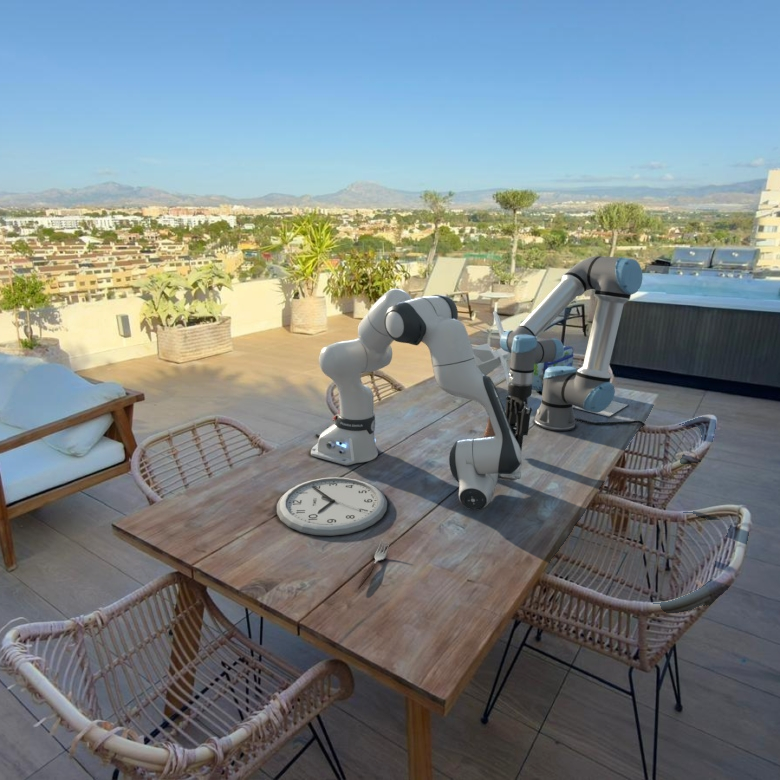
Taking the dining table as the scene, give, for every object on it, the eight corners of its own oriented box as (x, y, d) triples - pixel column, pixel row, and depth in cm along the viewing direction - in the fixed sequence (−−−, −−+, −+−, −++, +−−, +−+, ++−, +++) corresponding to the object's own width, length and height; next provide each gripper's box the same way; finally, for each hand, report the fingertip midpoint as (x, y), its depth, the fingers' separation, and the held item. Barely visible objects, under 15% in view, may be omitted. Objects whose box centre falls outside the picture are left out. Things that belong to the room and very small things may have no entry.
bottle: (477, 473, 163) (482, 416, 157) (489, 470, 165) (493, 414, 159) (486, 479, 159) (491, 421, 153) (498, 476, 161) (503, 419, 155)
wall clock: (392, 527, 129) (268, 531, 127) (391, 533, 130) (269, 537, 127) (383, 473, 158) (282, 475, 155) (383, 478, 158) (282, 480, 156)
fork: (352, 589, 110) (352, 581, 109) (380, 547, 124) (380, 540, 123) (364, 592, 109) (364, 583, 108) (390, 550, 123) (390, 542, 123)
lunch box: (545, 397, 238) (550, 352, 231) (524, 391, 245) (529, 348, 239) (572, 386, 255) (578, 344, 249) (552, 381, 262) (557, 340, 256)
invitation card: (608, 416, 214) (573, 407, 224) (608, 416, 214) (573, 408, 224) (628, 404, 229) (594, 396, 238) (628, 405, 229) (594, 397, 238)
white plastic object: (461, 429, 252) (437, 405, 227) (444, 352, 274) (420, 323, 250) (535, 404, 240) (518, 377, 215) (510, 326, 262) (492, 293, 237)
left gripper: (521, 469, 144) (525, 450, 157) (448, 458, 150) (458, 441, 163) (519, 490, 146) (523, 469, 159) (447, 478, 152) (457, 459, 165)
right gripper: (498, 376, 176) (492, 441, 183) (523, 391, 160) (515, 461, 167) (518, 375, 178) (511, 439, 185) (544, 390, 162) (536, 459, 169)
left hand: (489, 455), depth 161 cm, fingers closed on bottle, 4 cm apart
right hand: (513, 449), depth 176 cm, fingers closed on cap, 4 cm apart
